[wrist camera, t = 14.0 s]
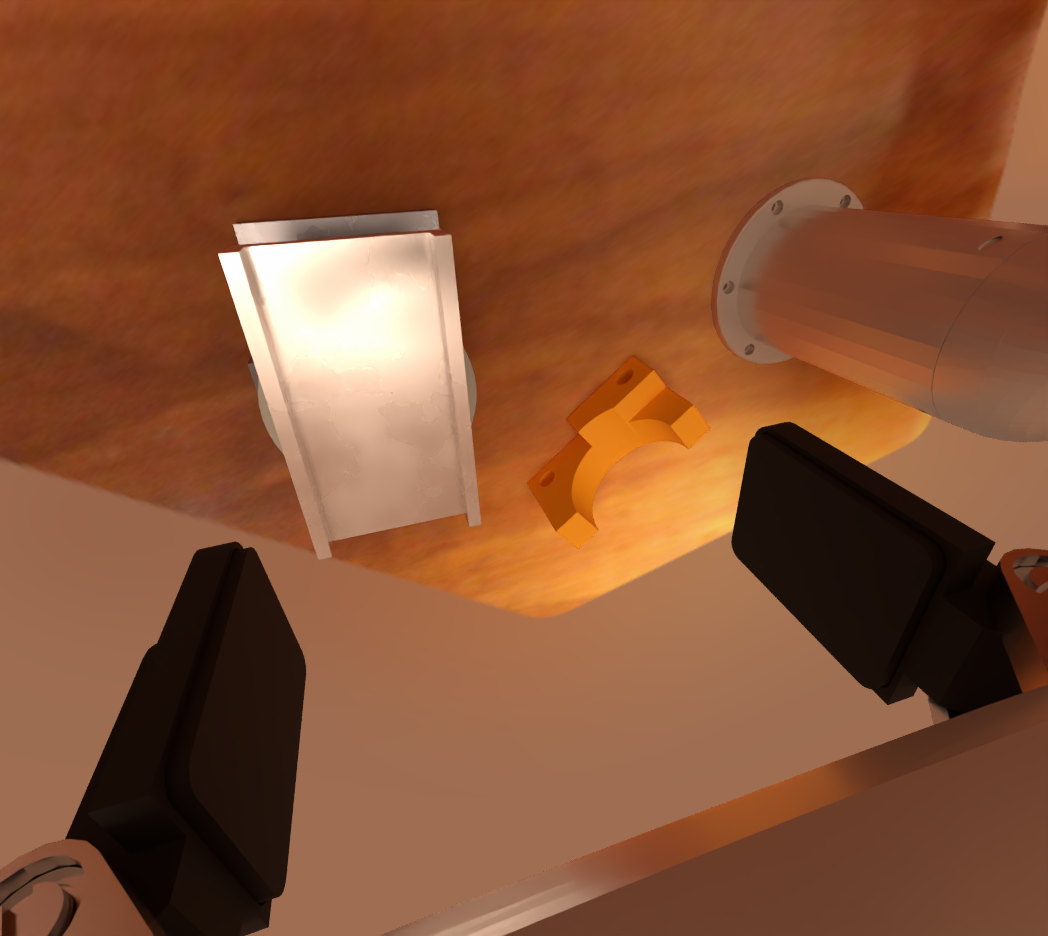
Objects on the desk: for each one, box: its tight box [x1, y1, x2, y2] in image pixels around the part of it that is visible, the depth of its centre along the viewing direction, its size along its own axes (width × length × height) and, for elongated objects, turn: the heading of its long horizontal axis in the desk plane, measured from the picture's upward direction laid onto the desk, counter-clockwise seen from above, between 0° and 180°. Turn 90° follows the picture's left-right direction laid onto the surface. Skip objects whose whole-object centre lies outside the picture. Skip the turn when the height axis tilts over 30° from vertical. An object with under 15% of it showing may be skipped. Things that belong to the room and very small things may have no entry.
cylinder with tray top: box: [218, 209, 481, 560], centre depth 25 cm, size 10×13×12 cm
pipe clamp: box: [527, 356, 711, 549], centre depth 36 cm, size 12×4×6 cm, turn 132°
